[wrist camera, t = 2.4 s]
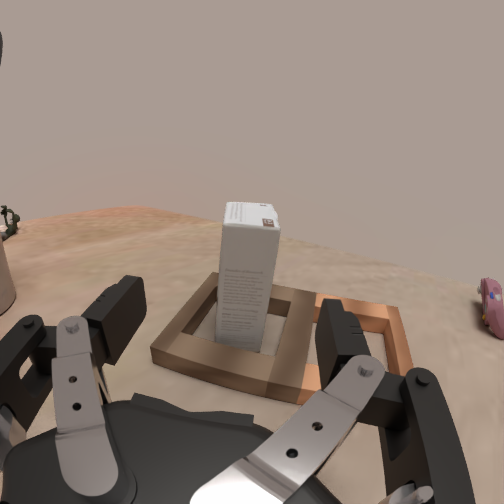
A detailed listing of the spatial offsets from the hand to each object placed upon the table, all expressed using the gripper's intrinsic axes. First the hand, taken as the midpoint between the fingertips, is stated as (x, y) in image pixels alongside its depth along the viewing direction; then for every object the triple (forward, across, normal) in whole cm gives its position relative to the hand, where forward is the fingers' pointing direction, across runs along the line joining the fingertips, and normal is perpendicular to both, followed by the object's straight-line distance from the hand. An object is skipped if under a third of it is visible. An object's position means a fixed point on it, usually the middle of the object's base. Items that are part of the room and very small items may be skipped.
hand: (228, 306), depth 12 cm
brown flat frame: (+11, -5, +11) cm, 16 cm away
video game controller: (+16, -35, +12) cm, 40 cm away
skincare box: (+12, 0, +11) cm, 16 cm away
